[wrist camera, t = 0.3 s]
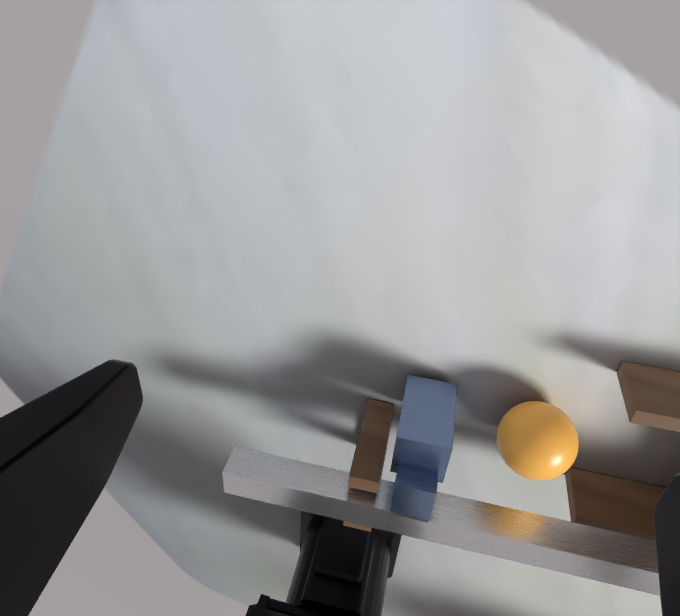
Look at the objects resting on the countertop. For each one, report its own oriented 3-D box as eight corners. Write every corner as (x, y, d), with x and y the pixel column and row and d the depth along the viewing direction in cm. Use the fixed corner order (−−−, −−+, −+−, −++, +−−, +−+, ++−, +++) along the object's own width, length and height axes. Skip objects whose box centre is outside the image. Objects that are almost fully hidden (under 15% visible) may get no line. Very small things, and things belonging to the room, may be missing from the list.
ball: (560, 443, 28) (568, 504, 25) (489, 428, 29) (489, 486, 26) (584, 393, 26) (595, 454, 23) (506, 378, 26) (507, 436, 24)
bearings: (785, 539, 29) (832, 641, 25) (361, 447, 32) (343, 525, 28) (831, 493, 26) (891, 598, 22) (368, 398, 29) (348, 476, 25)
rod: (875, 560, 27) (1011, 792, 20) (258, 426, 32) (191, 578, 25) (968, 485, 24) (1176, 737, 17) (255, 344, 28) (174, 496, 21)
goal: (685, 501, 28) (702, 555, 26) (565, 475, 29) (571, 525, 27) (769, 388, 24) (800, 442, 21) (622, 361, 24) (636, 410, 22)
